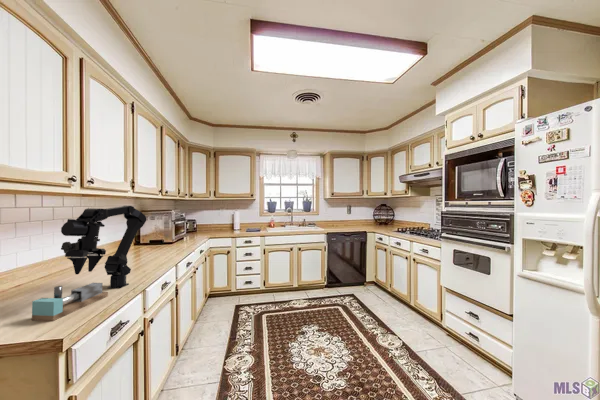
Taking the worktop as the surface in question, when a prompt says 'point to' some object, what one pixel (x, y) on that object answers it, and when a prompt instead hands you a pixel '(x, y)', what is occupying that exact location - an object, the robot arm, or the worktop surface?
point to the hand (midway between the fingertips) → (83, 272)
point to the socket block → (47, 306)
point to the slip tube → (68, 298)
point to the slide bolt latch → (78, 301)
